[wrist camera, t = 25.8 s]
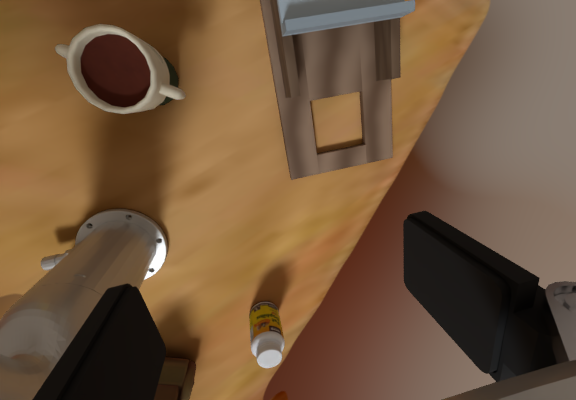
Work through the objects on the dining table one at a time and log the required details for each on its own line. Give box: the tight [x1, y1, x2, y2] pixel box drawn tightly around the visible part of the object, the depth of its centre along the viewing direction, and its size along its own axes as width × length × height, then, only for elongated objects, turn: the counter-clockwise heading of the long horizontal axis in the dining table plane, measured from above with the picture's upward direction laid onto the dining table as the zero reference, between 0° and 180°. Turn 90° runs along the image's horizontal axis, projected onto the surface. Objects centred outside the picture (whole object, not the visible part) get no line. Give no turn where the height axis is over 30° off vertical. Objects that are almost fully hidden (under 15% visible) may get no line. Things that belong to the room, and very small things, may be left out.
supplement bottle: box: [249, 302, 284, 368], centre depth 47 cm, size 6×6×10 cm
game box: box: [260, 0, 400, 180], centre depth 37 cm, size 17×27×5 cm, turn 10°
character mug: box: [55, 24, 186, 114], centre depth 29 cm, size 11×7×13 cm, turn 68°
